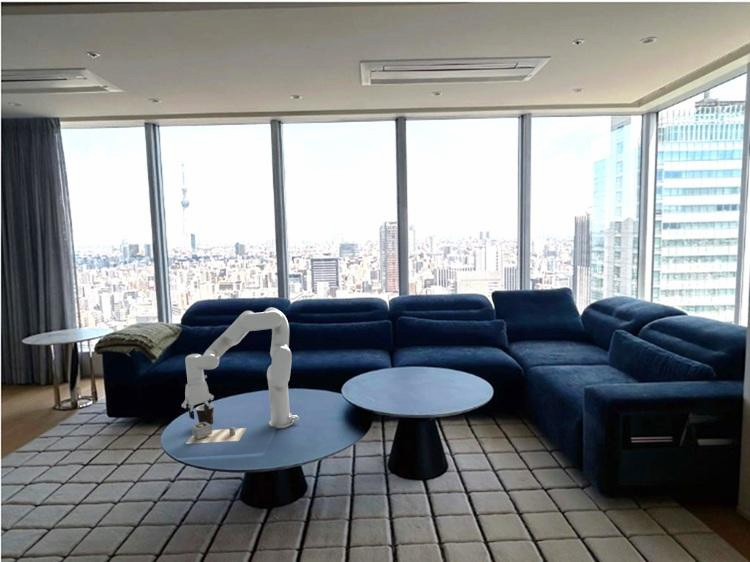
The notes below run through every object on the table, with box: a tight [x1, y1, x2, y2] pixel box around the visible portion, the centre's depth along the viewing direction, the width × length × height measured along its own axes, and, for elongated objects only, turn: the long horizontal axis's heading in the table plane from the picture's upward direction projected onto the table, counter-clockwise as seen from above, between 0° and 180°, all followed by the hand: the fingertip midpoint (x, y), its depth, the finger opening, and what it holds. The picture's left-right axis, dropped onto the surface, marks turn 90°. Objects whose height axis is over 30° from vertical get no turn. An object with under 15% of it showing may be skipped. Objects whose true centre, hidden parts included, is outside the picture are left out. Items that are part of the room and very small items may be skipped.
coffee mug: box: [195, 403, 215, 426], centre depth 240 cm, size 12×9×10 cm
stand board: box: [185, 425, 247, 445], centre depth 223 cm, size 25×14×7 cm, turn 90°
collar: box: [190, 421, 213, 439], centre depth 223 cm, size 7×7×4 cm
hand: (199, 415), depth 222 cm, fingers open, 6 cm apart
